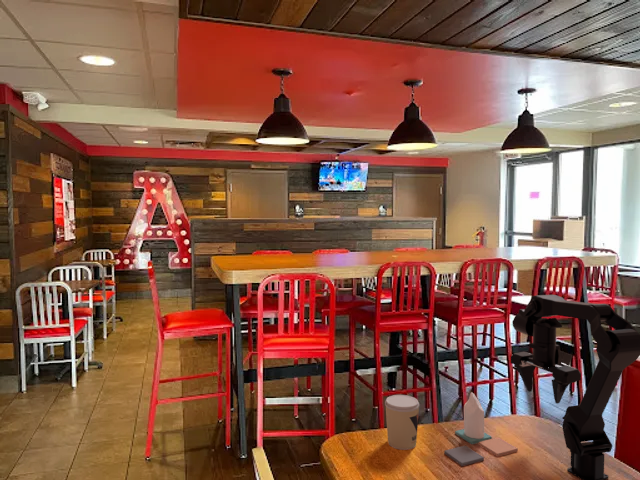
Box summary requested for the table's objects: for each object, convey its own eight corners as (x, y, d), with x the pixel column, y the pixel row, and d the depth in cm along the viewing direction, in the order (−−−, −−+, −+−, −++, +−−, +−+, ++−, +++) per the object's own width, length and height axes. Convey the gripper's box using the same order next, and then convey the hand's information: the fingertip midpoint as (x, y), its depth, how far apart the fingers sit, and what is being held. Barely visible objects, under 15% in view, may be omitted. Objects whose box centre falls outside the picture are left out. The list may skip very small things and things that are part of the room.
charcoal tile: (483, 460, 123) (483, 457, 123) (461, 466, 121) (461, 463, 121) (465, 448, 130) (465, 445, 130) (444, 453, 127) (444, 450, 127)
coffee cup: (419, 452, 127) (419, 408, 127) (383, 449, 129) (383, 406, 129) (419, 436, 137) (419, 395, 136) (386, 434, 139) (386, 393, 138)
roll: (487, 396, 132) (467, 396, 133) (487, 439, 133) (466, 439, 133) (481, 388, 138) (461, 388, 139) (480, 429, 139) (461, 429, 139)
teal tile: (491, 439, 135) (491, 436, 135) (471, 444, 132) (471, 441, 132) (474, 429, 141) (474, 426, 141) (455, 433, 138) (455, 431, 138)
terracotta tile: (517, 451, 128) (517, 448, 128) (497, 456, 125) (497, 453, 125) (498, 440, 134) (498, 437, 134) (478, 444, 132) (478, 442, 132)
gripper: (596, 346, 125) (595, 404, 126) (538, 330, 142) (537, 381, 143) (565, 351, 121) (564, 412, 122) (509, 334, 138) (508, 387, 139)
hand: (543, 397), depth 131 cm, fingers open, 9 cm apart
